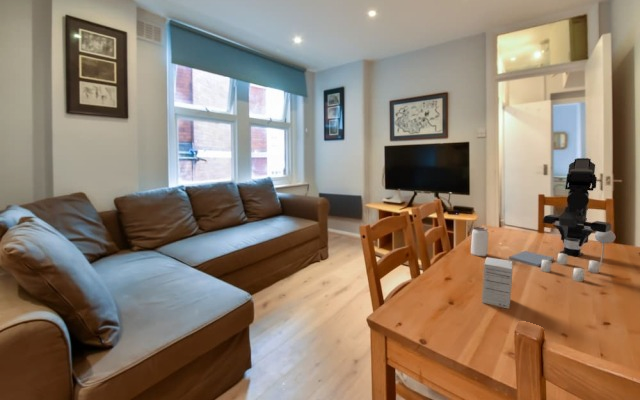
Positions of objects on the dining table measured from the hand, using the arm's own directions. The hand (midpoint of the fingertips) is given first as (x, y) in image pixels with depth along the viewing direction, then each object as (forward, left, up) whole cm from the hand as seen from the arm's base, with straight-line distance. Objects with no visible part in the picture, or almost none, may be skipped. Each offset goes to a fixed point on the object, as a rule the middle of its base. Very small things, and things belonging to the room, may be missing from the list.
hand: (572, 244), depth 111 cm
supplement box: (+47, -2, -11) cm, 48 cm away
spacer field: (0, 0, -11) cm, 11 cm away
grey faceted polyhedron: (0, 0, -1) cm, 1 cm away
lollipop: (-18, +4, -11) cm, 21 cm away
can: (+10, -30, -11) cm, 33 cm away
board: (-2, -14, -11) cm, 18 cm away
